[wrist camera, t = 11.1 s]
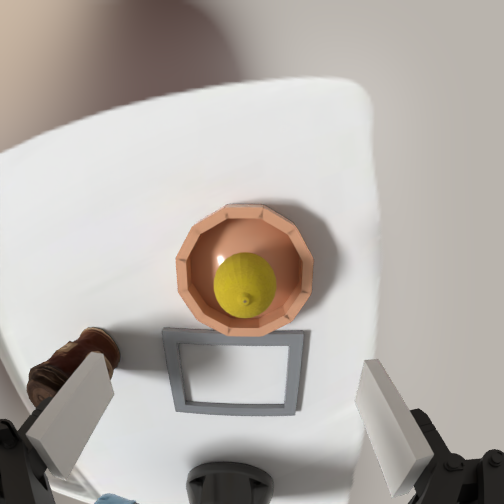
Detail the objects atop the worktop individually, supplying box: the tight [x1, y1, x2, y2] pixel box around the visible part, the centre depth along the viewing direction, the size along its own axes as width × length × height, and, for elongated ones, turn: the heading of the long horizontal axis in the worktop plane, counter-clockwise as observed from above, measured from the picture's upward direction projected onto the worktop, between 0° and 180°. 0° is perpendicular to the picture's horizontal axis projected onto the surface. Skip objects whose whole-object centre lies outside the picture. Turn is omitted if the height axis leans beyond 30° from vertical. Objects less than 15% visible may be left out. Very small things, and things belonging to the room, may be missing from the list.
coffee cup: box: [27, 327, 120, 407], centre depth 29 cm, size 9×8×13 cm
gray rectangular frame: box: [162, 328, 304, 416], centre depth 35 cm, size 13×16×1 cm
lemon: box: [214, 252, 276, 318], centre depth 27 cm, size 6×6×8 cm
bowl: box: [176, 204, 314, 337], centre depth 30 cm, size 13×13×3 cm
